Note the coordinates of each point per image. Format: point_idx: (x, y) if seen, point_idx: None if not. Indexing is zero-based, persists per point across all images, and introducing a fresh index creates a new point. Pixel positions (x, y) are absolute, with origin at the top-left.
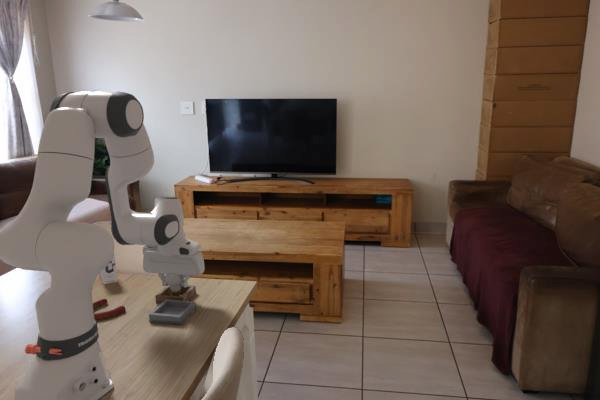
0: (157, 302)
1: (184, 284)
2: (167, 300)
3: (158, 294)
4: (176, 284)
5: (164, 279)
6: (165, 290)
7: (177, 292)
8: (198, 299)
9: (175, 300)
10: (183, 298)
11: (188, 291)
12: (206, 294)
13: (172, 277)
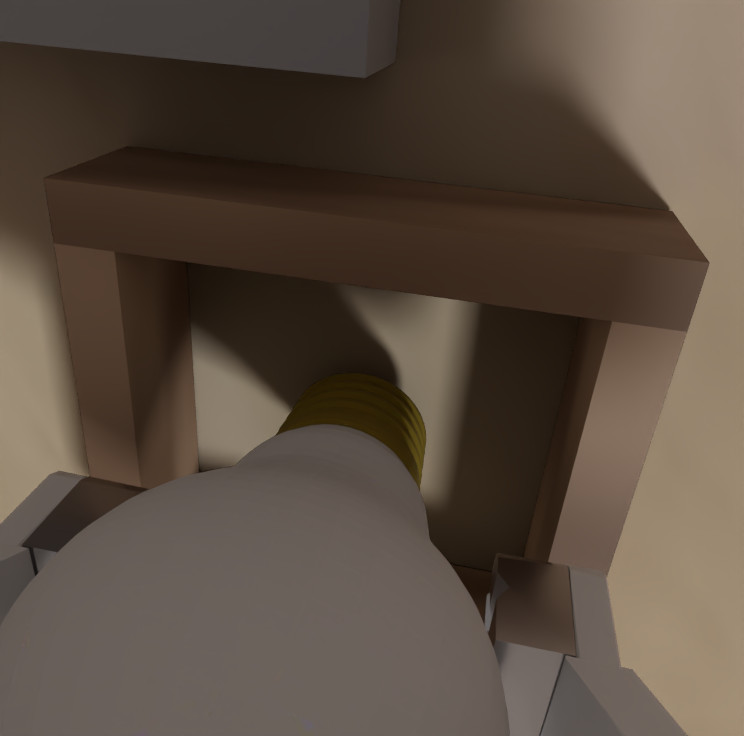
0: (638, 211)
1: (22, 512)
2: (295, 13)
3: (643, 326)
4: (155, 487)
5: (566, 719)
6: (557, 513)
7: (281, 426)
8: (21, 360)
9: (112, 37)
10: (70, 217)
11: (98, 448)
12: (12, 495)
13: (118, 650)
